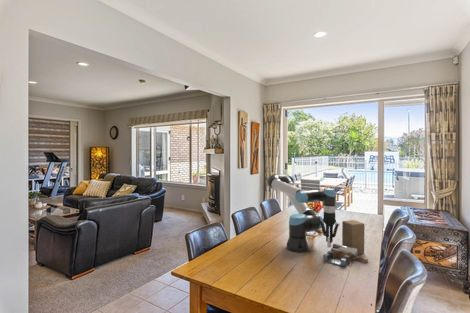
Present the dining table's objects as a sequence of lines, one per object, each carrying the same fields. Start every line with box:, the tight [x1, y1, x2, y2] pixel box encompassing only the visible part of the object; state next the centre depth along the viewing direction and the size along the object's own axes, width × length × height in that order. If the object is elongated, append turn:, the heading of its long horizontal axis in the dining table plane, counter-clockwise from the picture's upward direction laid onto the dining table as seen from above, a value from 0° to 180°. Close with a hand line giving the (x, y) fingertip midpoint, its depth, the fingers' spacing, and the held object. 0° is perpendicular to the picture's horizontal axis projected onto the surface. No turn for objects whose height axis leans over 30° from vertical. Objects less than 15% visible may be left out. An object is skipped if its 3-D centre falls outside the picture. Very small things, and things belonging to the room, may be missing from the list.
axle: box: [332, 243, 358, 257], centre depth 170 cm, size 14×5×5 cm, turn 49°
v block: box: [322, 250, 351, 268], centre depth 162 cm, size 13×9×4 cm
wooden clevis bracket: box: [330, 247, 369, 264], centre depth 168 cm, size 20×11×5 cm, turn 49°
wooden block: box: [341, 219, 365, 255], centre depth 179 cm, size 10×10×20 cm
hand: (329, 246), depth 177 cm, fingers closed
